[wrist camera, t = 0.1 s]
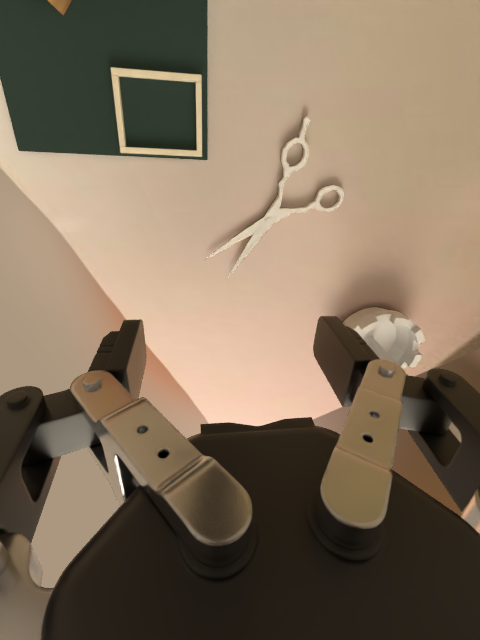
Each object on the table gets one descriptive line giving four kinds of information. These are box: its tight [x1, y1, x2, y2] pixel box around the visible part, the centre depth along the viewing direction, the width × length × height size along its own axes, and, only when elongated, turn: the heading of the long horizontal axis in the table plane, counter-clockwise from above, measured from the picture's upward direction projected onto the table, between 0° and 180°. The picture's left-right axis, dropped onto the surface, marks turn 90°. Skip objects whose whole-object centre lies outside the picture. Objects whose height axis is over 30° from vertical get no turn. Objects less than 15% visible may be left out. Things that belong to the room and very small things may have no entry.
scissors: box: [206, 117, 344, 277], centre depth 41 cm, size 11×1×20 cm
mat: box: [0, 0, 207, 160], centre depth 30 cm, size 22×20×1 cm
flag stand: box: [343, 307, 461, 443], centre depth 39 cm, size 13×13×30 cm
